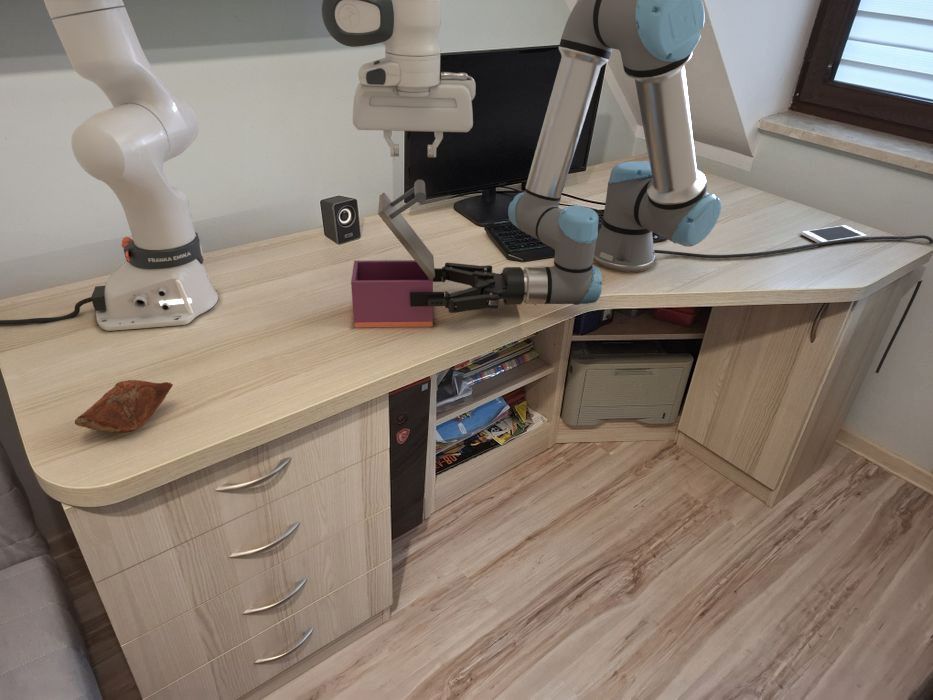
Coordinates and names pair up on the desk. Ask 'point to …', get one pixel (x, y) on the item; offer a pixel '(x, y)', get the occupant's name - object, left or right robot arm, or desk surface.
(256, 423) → the desk surface
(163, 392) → the fossil
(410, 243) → the lid
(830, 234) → the smartphone
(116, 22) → the left robot arm
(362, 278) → the chest
